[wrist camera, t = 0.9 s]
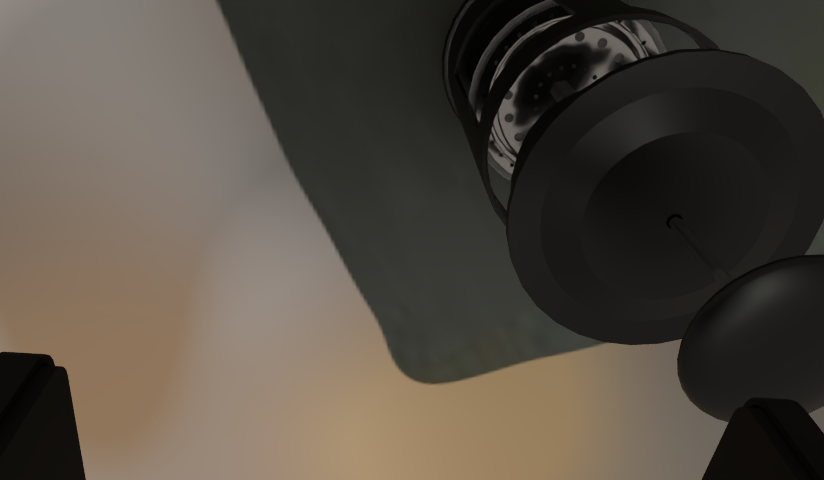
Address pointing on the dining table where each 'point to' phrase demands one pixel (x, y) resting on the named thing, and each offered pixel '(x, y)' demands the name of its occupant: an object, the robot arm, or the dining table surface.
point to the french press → (654, 190)
